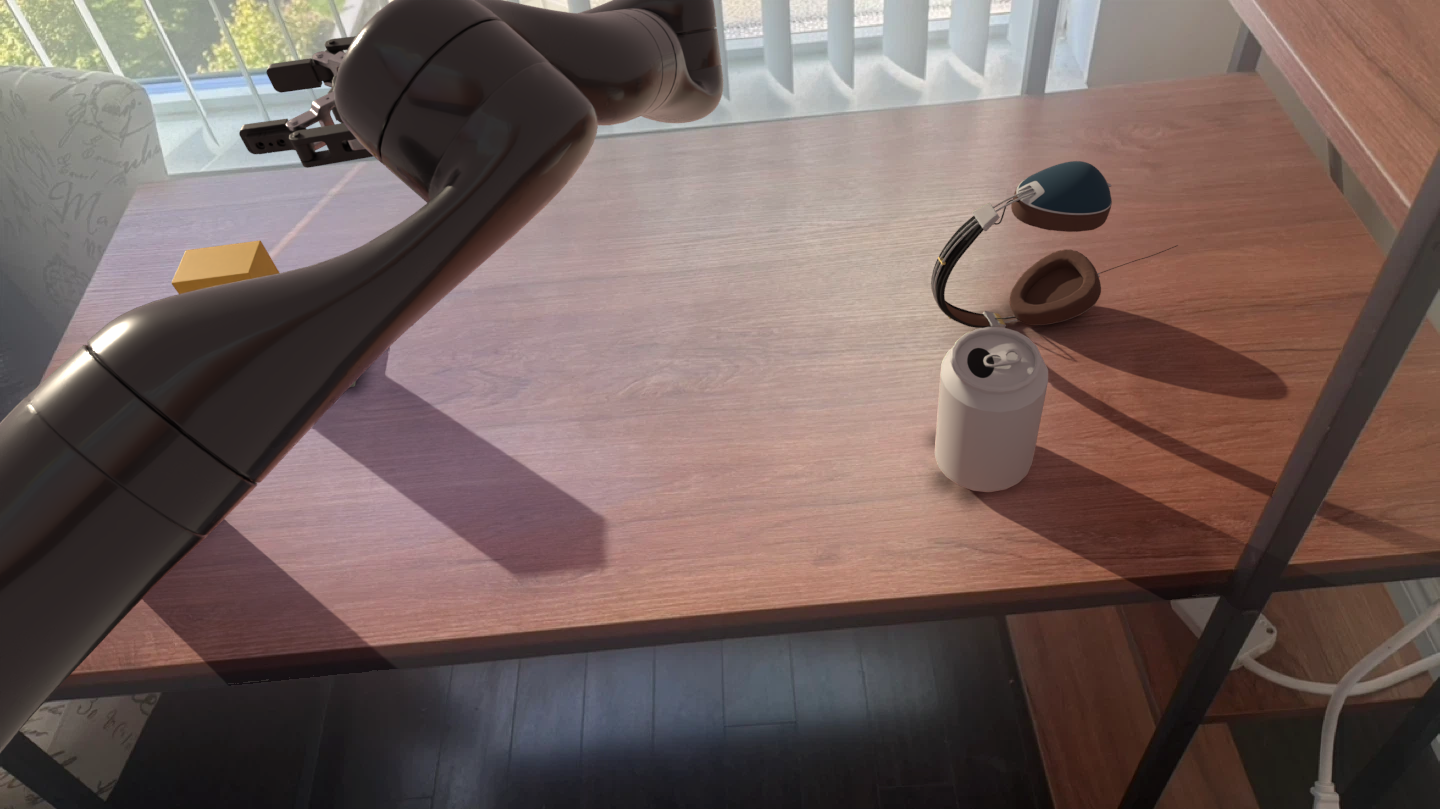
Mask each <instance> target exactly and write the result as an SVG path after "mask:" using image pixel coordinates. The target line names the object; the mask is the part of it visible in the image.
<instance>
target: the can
mask: <svg viewBox="0 0 1440 809" xmlns="http://www.w3.org/2000/svg"><path fill="white" fill-rule="evenodd" d="M1048 385H1049V368H1048V366H1047V364H1046V362H1045V360H1044V358H1043V356H1042V354H1041V352H1040V350H1039V347H1038V346H1037V344H1035V343H1034V341H1032V340H1031V338H1029V337H1028V336H1027V335H1025V334H1023V333H1021V332H1019V331H1018V330H1013V329H1011V328H1006V327H1005V328H1002V327H985V328H976V329H973V330H971V331H968V332H966V333H963V335H961V336H960V337H959V338H958V339H957V340H956V341H955V342H954V344H953V346H952V347H951V348H950V349H948V350H947V351H946V353H945V355H944V357H943V358H942V361H941V364H940V375H939V385H938V386H939V387H938V400H937V401H938V402H937V415H936V425H935V426H936V427H935V442H934V443H935V444H934V453H933V454H934V459H935V462H936V464H937V467H938V468H939V470H940V471H941V472H942V473H943V475H944V476H945V477H946V478H947V479H948V480H950V481H952V483H954V484H955V485H957V486H959V487H962V488H965V489H967V490H971V491H973V492H984V493H992V492H993V493H994V492H999V491H1006V490H1007V489H1009V488H1012V487H1014V486H1015V485H1017V484H1019V483H1020V482H1021V481H1022V480H1024V478H1026V476H1028V473H1029V471H1030V469H1031V467H1032V465H1033V461H1034V456H1035V452H1036V446H1037V441H1038V436H1039V431H1040V425H1041V420H1042V415H1043V411H1044V406H1045V400H1046V395H1047V391H1048Z"/></svg>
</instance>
